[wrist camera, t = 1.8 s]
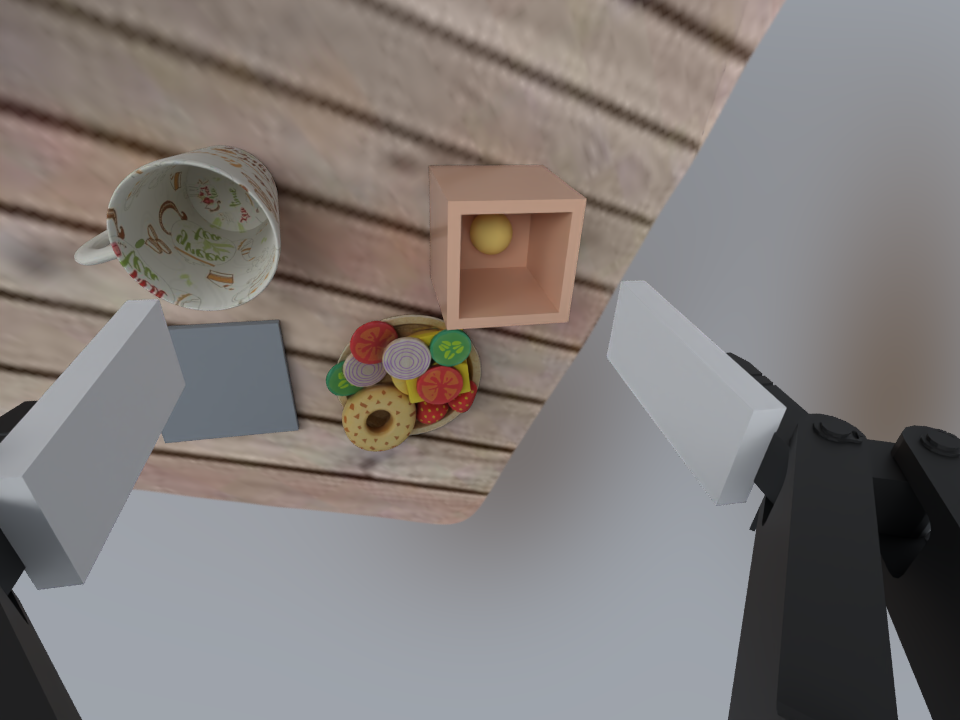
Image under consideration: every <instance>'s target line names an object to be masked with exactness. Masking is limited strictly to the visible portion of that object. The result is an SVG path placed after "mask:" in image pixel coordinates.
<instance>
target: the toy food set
mask: <svg viewBox="0 0 960 720" xmlns="http://www.w3.org/2000/svg"><path fill="white" fill-rule="evenodd" d="M480 378H481V364H480V359H479V356H478V353H477V351H476V349H475V347H474V345H473V344H472V342H471V340H470V338H469V337H468V335H467V334H466V333H465V332H463V329H456V330H447V329H446V326H445V322H444V320H441V319H438V318H435V317H431V316H426V315H414V314H410V315H400V316H394V317H390V318H387V319H384V320H381V321H372V322H368V323H366V324H364V325H362V326H361V327H359V328H358V329H357V330H356V331H355V333H354V334H353V336H352V338H351V341H350V342H349V343H348V344H347V346H346V347H345V349H344V350H343V352H342V354H341V356H340V358H339V360H338V363H337V364H336V365H335V366H333V367H332V368H331V369H330V371H329V372H328V374H327V376H326V384H327V387H328V389H329V390H330V392H332V393H333V394H335V395H337V396H338V398H339V401H340V403H341V404H342V406H343V407H344V409H343V413H342V423H343V427H344V430H345V433H346V435H347V436H348V438H349V439H350V441H351V442H352V443H353V444H355V445H356V446H357V447H359V448H361V449H364V450H367V451H385V450H389V449H392V448H394V447H396V446H398V445H399V444H401V443H402V442H403V441H404V440H405V439H406V438H407V437H408V436H409V435H415V434H421V433H425V432H429V431H432V430H434V429H437V428H440V427H442V426H443V425H445V424H447V423H449V422H450V421H452V420H453V419H454V418H456V417H457V416H458V415H459V414H460V413H463V412H466V411H467V410H468V409H469V408H470V407H471V405H472V403H473V401H474V398H475V396H476V393H477V389H478V386H479V382H480Z"/></svg>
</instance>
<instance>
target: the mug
mask: <svg viewBox="0 0 960 720" xmlns="http://www.w3.org/2000/svg"><path fill="white" fill-rule="evenodd" d="M110 244H111V245H110ZM108 245H110V246H108ZM106 246H107V247H106ZM280 251H281V239H280V222H279V205H278V193H277V188H276V185H275V182H274V180H273V178H272V176H271V174H270V172H269V171H268V170H267V168H266V167H265V166H264V165H263V164H262V163H261V162H260V161H259V160H258V159H257V158H255V157H254V156H252V155H251V154H249V153H247V152H245V151H243V150H241V149H238V148H235V147H230V146H211V147H207V148H203V149H199V150H195V151H191V152H187V153H183V154H180V155H176V156H172V157H168V158H164V159H160V160H157V161H153V162H151V163H148V164H146V165H144V166H142V167H140V168H138V169H136V170H135V171H133V172H132V173H131V174H129V175H128V176H127V177H126V178H125V179H124V180H123V181H122V182H121V183H120V184H119V186H118V187H117V188H116V190H115V192H114V193H113V195H112V198H111V200H110V203H109V206H108V212H107V230H106V231H104V232H103V233H101V234H99V235H98V236H96V237H94V238H93V239H91V240H89V241H88V242H87V243H85V244H84V245H82V246H81V247H80V248H79V249H78V250H77V251H76V253H75V256H74V258H75V261H76V262H78V263H79V264H82V265H95V264H100V263H104V262H107V261H110V260H114V259H118V260H119V262H120V263H121V265H122V266H123V267H124V269H125V270H126V271H127V272H128V274H129V275H130V276H131V277H132V278H133V279H134V280H135V281H136V282H137V283H139V284H140V285H141V286H142V287H144V288H145V289H146V290H148V291H149V292H151V293H152V294H154V295H156V296H157V297H159V298H161V299H163V300H165V301H167V302H170V303H172V304H175V305H178V306H181V307H185V308H189V309H195V310H206V311H215V310H224V309H229V308H233V307H237V306H239V305H242V304H244V303H246V302H248V301H250V300H252V299H253V298H255V297H256V296H257V295H259V294H260V293H261V292H262V291H263V290H264V289H265V288H266V287H267V286H268V284H269V283H270V281H271V280H272V278H273V276H274V274H275V272H276V270H277V267H278V263H279V259H280Z"/></svg>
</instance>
